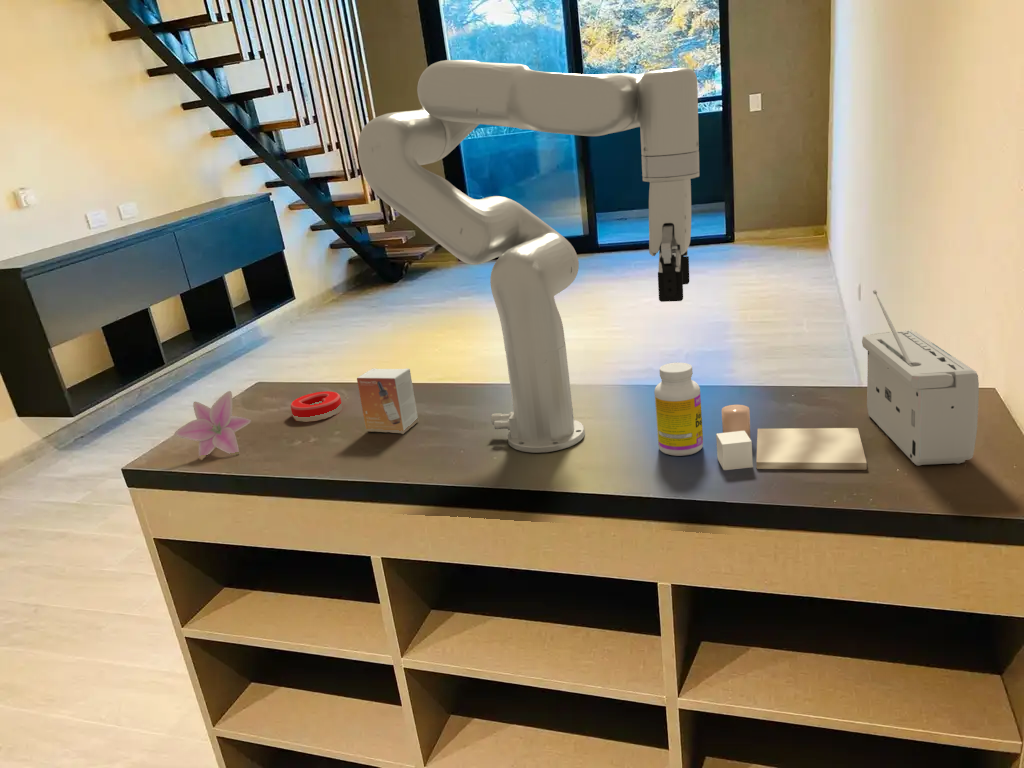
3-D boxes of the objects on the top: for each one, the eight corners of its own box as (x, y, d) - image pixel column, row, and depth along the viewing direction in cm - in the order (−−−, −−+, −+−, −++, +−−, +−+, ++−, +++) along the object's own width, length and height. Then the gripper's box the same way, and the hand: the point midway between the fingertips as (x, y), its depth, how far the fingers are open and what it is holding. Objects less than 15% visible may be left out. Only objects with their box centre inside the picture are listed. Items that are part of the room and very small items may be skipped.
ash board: (756, 468, 112) (756, 462, 112) (757, 434, 123) (757, 428, 123) (866, 469, 108) (866, 462, 108) (857, 434, 119) (857, 428, 118)
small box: (365, 433, 145) (354, 377, 142) (381, 421, 150) (371, 367, 147) (404, 434, 142) (394, 378, 139) (419, 422, 147) (410, 367, 144)
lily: (175, 463, 146) (162, 428, 139) (211, 417, 154) (200, 382, 147) (235, 481, 144) (224, 447, 137) (268, 434, 152) (259, 399, 145)
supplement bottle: (703, 456, 118) (699, 373, 114) (657, 458, 120) (651, 376, 116) (703, 438, 124) (698, 358, 120) (659, 440, 126) (653, 361, 122)
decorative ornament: (290, 413, 162) (287, 398, 161) (338, 401, 165) (335, 387, 164) (296, 427, 154) (293, 411, 153) (346, 415, 157) (343, 399, 156)
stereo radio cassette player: (977, 467, 105) (986, 317, 99) (911, 472, 106) (916, 324, 100) (914, 409, 125) (918, 282, 118) (859, 414, 126) (860, 288, 119)
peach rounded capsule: (722, 445, 121) (720, 414, 119) (723, 435, 125) (722, 404, 123) (750, 445, 120) (749, 414, 118) (750, 435, 123) (749, 404, 122)
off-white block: (723, 470, 113) (722, 444, 112) (717, 459, 117) (716, 433, 116) (752, 467, 113) (751, 441, 112) (745, 456, 117) (744, 430, 115)
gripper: (650, 163, 117) (655, 279, 123) (632, 176, 102) (639, 308, 108) (703, 159, 115) (706, 277, 121) (693, 172, 100) (697, 307, 105)
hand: (674, 292), depth 114 cm, fingers open, 9 cm apart
